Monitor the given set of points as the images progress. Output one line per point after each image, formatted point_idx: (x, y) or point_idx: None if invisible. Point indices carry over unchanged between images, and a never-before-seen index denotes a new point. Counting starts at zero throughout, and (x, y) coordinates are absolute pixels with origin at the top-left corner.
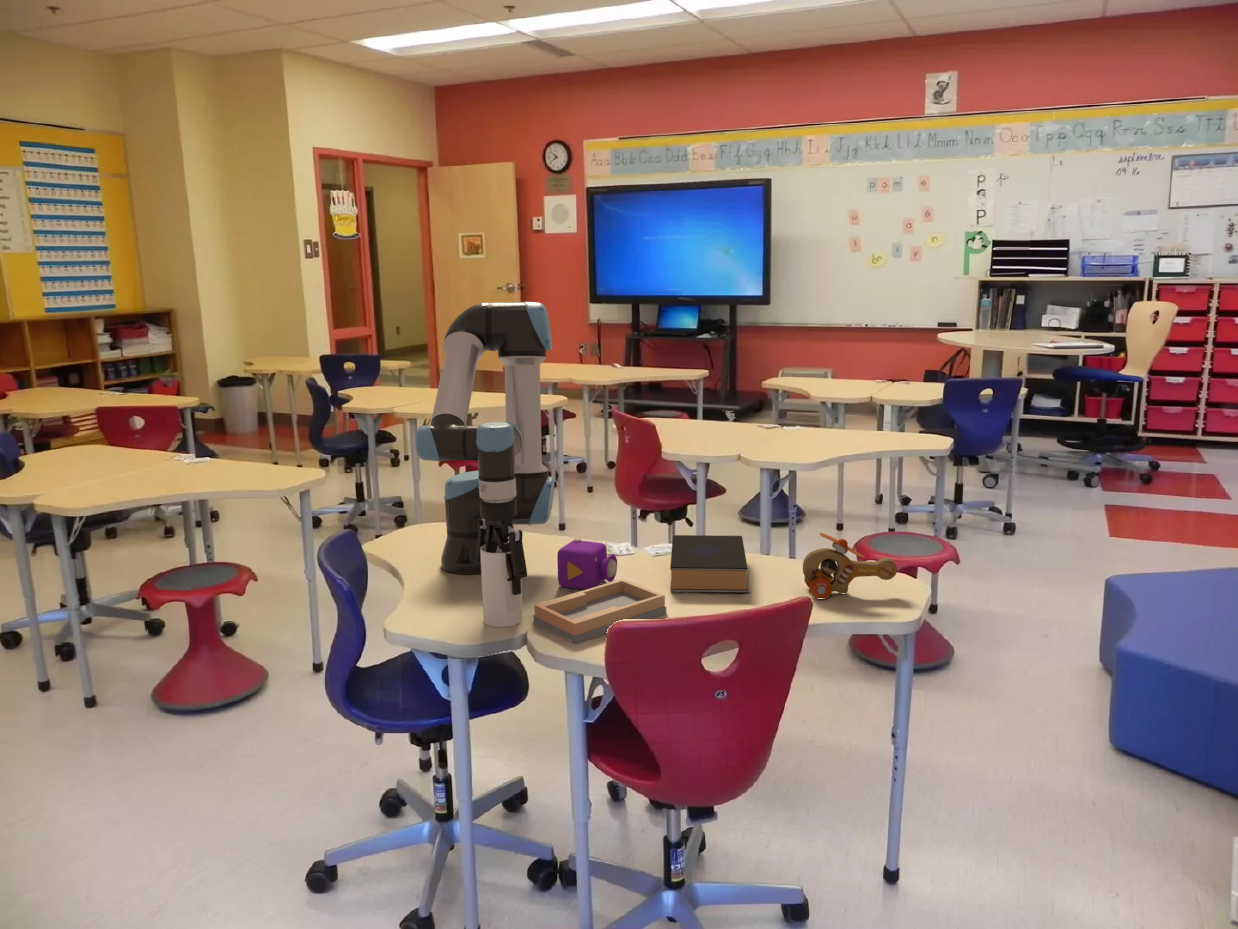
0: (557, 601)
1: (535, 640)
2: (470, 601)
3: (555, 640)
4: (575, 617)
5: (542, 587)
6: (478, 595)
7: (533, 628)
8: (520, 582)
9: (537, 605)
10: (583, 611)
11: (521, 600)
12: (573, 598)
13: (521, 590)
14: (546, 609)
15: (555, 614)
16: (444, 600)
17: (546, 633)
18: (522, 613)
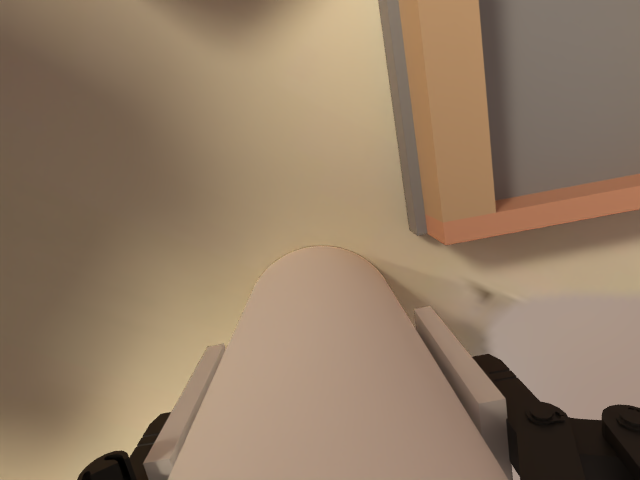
0: (473, 123)
1: (564, 291)
2: (73, 355)
3: (611, 231)
4: (550, 83)
5: (20, 7)
6: (15, 307)
7: (462, 254)
8: (536, 399)
9: (462, 236)
10: (509, 9)
11: (380, 287)
12: (479, 18)
13: (383, 301)
14: (535, 220)
15: (619, 211)
16: (21, 430)
17: (534, 232)
18: (358, 259)
